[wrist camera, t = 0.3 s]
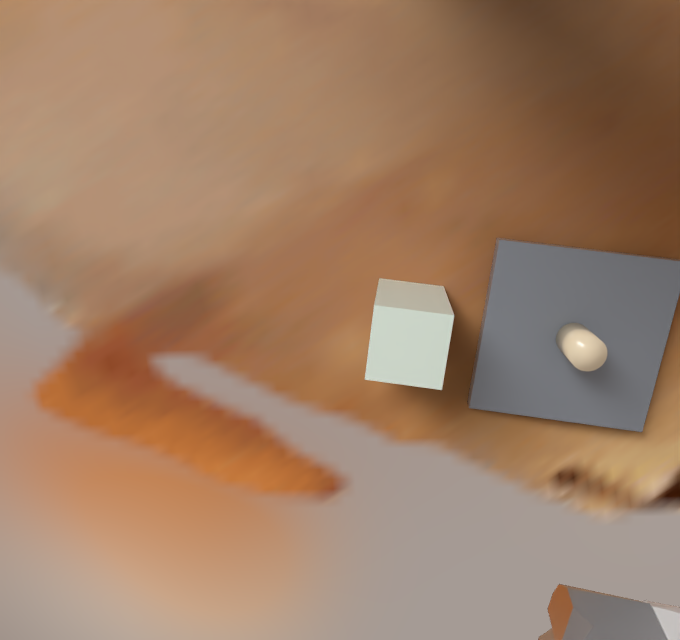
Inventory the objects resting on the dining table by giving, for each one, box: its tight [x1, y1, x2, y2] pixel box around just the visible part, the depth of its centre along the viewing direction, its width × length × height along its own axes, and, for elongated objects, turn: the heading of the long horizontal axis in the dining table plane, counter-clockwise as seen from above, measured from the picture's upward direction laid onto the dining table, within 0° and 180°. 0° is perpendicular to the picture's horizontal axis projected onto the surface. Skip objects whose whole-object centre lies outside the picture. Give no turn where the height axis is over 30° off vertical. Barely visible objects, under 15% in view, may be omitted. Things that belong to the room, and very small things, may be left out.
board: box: [467, 238, 680, 432], centre depth 51 cm, size 16×16×6 cm
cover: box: [365, 278, 454, 390], centre depth 50 cm, size 6×6×11 cm
